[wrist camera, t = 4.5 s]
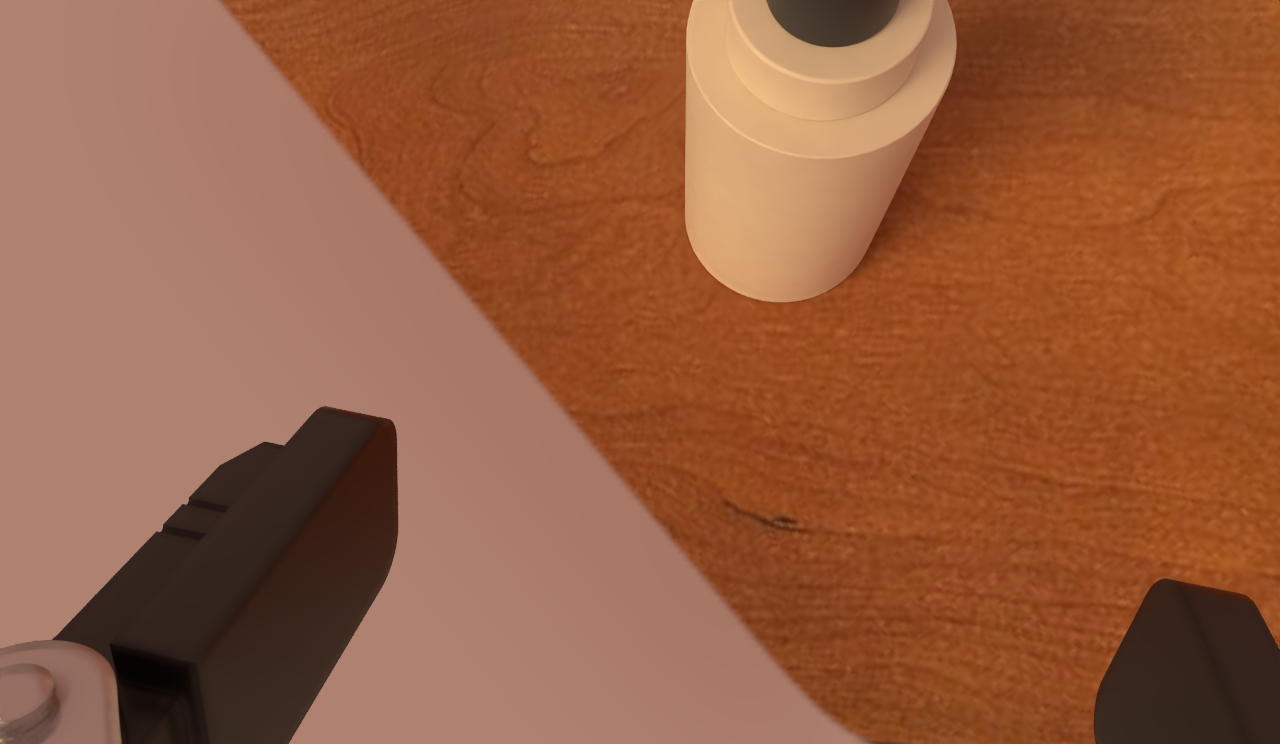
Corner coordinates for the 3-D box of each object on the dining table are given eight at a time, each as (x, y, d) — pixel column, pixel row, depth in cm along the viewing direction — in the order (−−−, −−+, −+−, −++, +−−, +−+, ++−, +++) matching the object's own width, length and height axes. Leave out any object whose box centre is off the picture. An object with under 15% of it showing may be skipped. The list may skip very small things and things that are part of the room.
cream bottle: (667, 283, 28) (657, 30, 16) (704, 114, 30) (720, -235, 18) (857, 319, 28) (991, 85, 16) (887, 146, 29) (1031, -192, 17)
